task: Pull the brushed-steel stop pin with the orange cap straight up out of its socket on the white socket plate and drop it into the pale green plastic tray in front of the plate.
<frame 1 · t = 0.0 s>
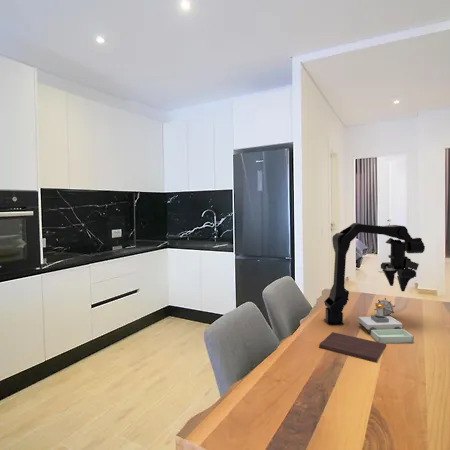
hand: (397, 288, 144), 15 cm above the table, fingers open, 9 cm apart
white socket plate: (379, 329, 136), on the table
tray: (391, 339, 126), on the table
notebook: (352, 349, 120), on the table
game die: (384, 316, 151), on the table
stop pin: (379, 320, 135), point 4 cm above the table, touching white socket plate
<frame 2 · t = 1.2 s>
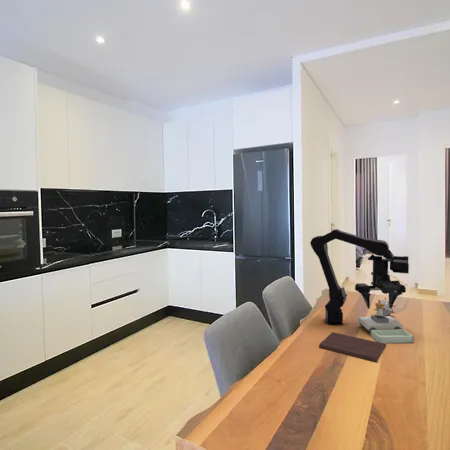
hand: (379, 308, 135), 9 cm above the table, fingers open, 9 cm apart
nothing on the table moved.
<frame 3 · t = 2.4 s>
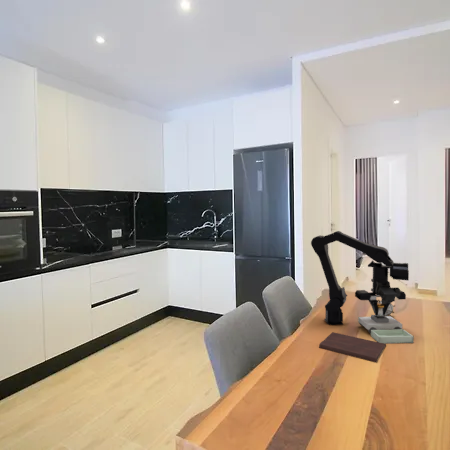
hand: (379, 314, 135), 6 cm above the table, fingers closed on stop pin, 3 cm apart
stop pin: (379, 320, 135), point 4 cm above the table, touching gripper, white socket plate
everything else where it was.
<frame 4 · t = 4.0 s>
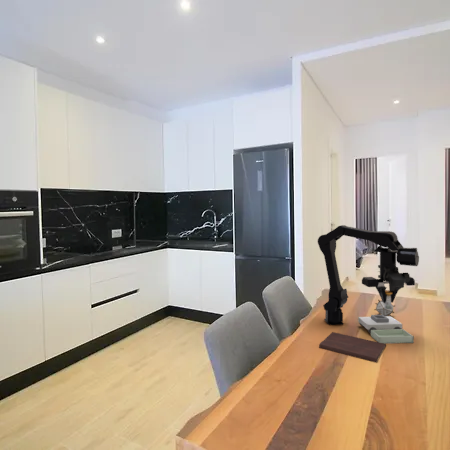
hand: (387, 302, 129), 13 cm above the table, fingers closed on stop pin, 3 cm apart
stop pin: (387, 308, 129), point 11 cm above the table, touching gripper
everything else where it was.
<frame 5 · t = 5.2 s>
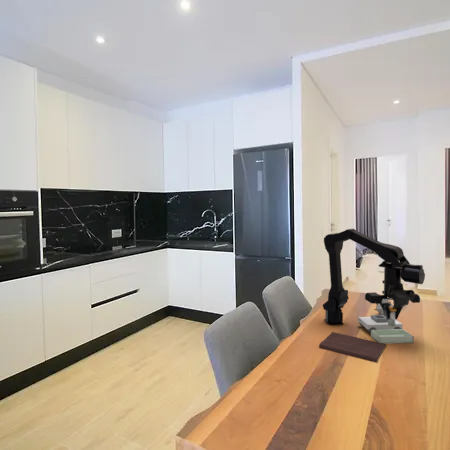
hand: (391, 319, 126), 8 cm above the table, fingers closed on stop pin, 3 cm apart
stop pin: (391, 325, 126), point 6 cm above the table, touching gripper
everything else where it was.
when the fingers open (5 cm above the table, at t = 6.0 s): stop pin drops 2 cm, resting on tray.
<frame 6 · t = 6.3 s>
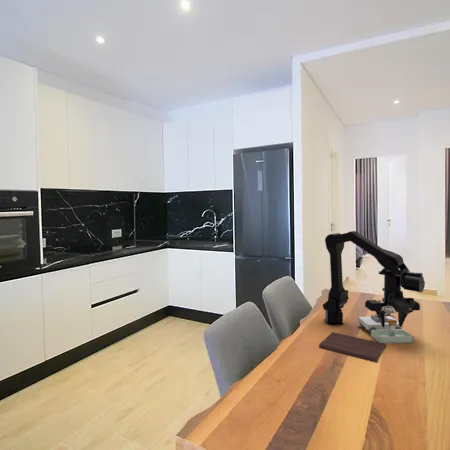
hand: (391, 326, 126), 5 cm above the table, fingers open, 6 cm apart
stop pin: (391, 337, 126), point 1 cm above the table, touching tray
everything else where it was.
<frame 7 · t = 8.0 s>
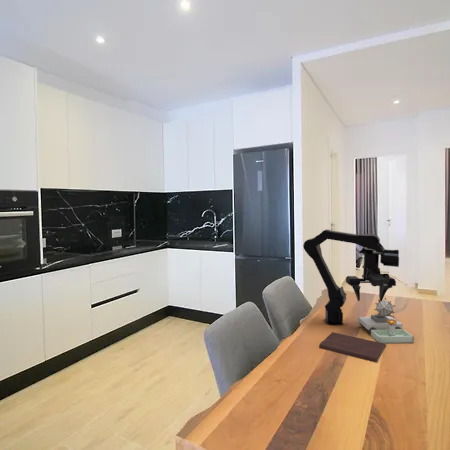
hand: (369, 300, 137), 12 cm above the table, fingers open, 9 cm apart
nothing on the table moved.
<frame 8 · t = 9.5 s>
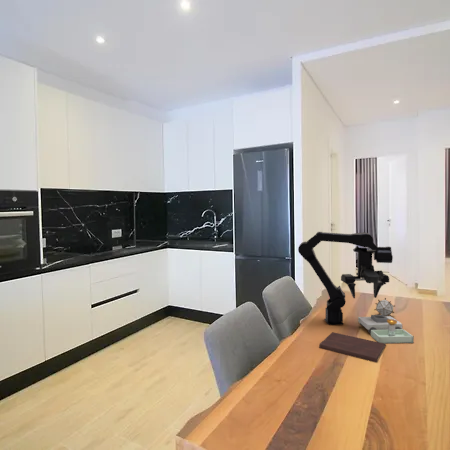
hand: (364, 297, 140), 12 cm above the table, fingers open, 9 cm apart
nothing on the table moved.
at the end: stop pin inside the target area on the tray (0.0 cm from its centre), point 0.6 cm above the tray's base; the gripper is holding nothing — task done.
